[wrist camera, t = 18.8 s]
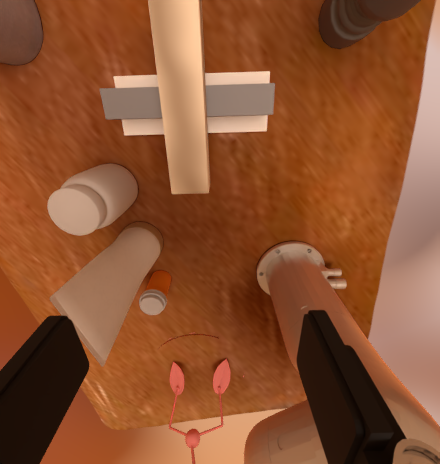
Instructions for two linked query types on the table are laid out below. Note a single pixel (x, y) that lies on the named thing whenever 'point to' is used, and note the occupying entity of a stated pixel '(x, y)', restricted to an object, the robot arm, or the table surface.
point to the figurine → (219, 386)
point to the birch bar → (182, 91)
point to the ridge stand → (217, 98)
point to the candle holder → (356, 18)
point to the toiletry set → (107, 257)
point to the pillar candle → (19, 31)
